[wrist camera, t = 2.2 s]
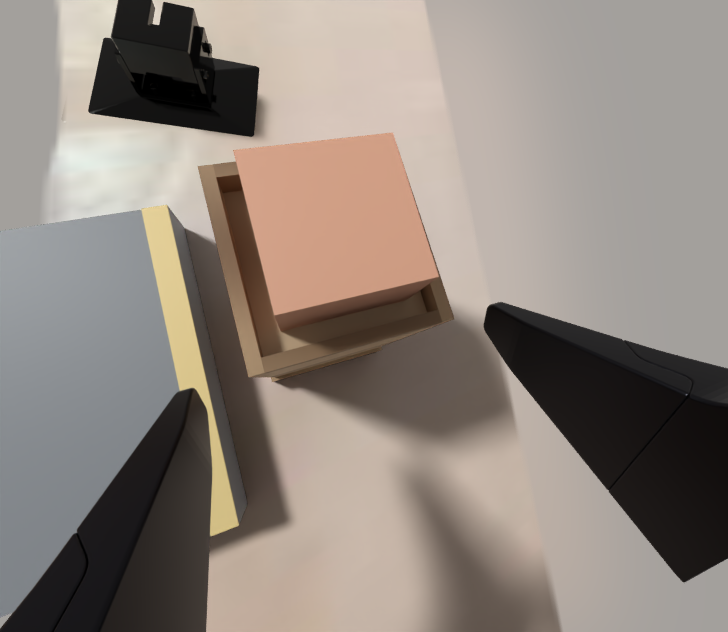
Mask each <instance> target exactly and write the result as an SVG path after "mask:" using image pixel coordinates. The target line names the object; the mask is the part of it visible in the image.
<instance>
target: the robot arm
mask: <svg viewBox="0 0 728 632" xmlns="http://www.w3.org/2000/svg"><path fill="white" fill-rule="evenodd" d="M484 330H485V332H486V334H487V335H488V337H489V338H490V340H491V341H492V343H493V344H494V346H495V347H496V349H497V350H498V352H499V353H500V355H501V357H502V358H503V360H504V361H505V363H506V364H507V365H508V367H509V368H510V370H511V371H512V372H513V374H514V375H515V376H516V377H517V378H518V380H519V381H520V382H521V383H522V384H523V386H524V387H525V388H526V390H527V391H528V392H529V393H530V395H531V396H532V397H533V398H534V400H535V401H536V402H537V403H538V404H539V405H540V407H541V408H542V409H543V411H544V412H545V413H546V414H547V416H548V417H549V418H550V419H551V421H552V422H553V423H554V424H555V425H556V427H557V428H558V429H559V430H560V432H561V433H562V434H563V435H564V437H565V438H566V439H567V440H568V442H569V443H570V444H571V445H572V447H574V449H575V450H576V451H577V453H578V454H579V455H580V456H581V458H582V459H583V460H584V461H585V463H586V464H587V465H588V466H589V468H590V469H591V470H592V471H593V473H594V474H595V475H596V476H597V477H598V479H599V480H600V481H601V482H602V484H603V485H604V486H605V487H606V489H608V490H609V493H610V494H611V495H612V496H613V498H614V499H615V500H616V501H617V502H618V504H619V505H620V506H621V507H622V509H623V510H624V511H625V512H626V514H627V515H628V516H629V517H630V518H631V520H632V521H633V522H634V524H635V525H636V526H637V527H638V529H639V530H640V531H641V532H642V533H643V535H644V536H645V537H646V538H647V540H648V541H649V542H650V543H651V545H652V546H653V547H654V548H655V550H657V552H658V553H659V555H660V556H661V557H662V558H663V559H664V561H665V562H666V563H667V564H668V566H669V567H670V568H671V569H672V570H673V572H674V573H675V574H676V575H677V576H678V577H679V578H680V580H681V581H682V582H686V581H688V580H690V579H692V578H694V577H695V576H697V575H699V574H701V573H702V572H704V571H706V570H708V569H710V568H711V567H713V566H715V565H717V564H719V563H720V562H722V561H724V560H726V559H728V368H724V367H720V366H716V365H712V364H708V363H704V362H700V361H697V360H693V359H689V358H685V357H681V356H678V355H674V354H670V353H666V352H663V351H659V350H656V349H652V348H649V347H646V346H642V345H639V344H636V343H632V342H629V341H626V340H624V341H623V340H622V339H619V338H616V337H613V336H610V335H606V334H603V333H600V332H596V331H593V330H590V329H587V328H584V327H580V326H577V325H574V324H571V323H567V322H564V321H561V320H558V319H555V318H551V317H548V316H545V315H541V314H538V313H535V312H532V311H528V310H525V309H522V308H519V307H516V306H512V305H509V304H506V303H503V302H498V303H495V304H491V305H489V306H488V308H487V311H486V316H485V321H484ZM211 496H212V456H211V444H210V433H209V421H208V413H207V409H206V406H205V404H204V403H203V401H202V399H201V397H200V395H199V394H198V392H197V390H196V389H195V388H188V389H185V390H181V391H178V392H177V393H176V394H175V395H174V396H173V397H172V399H171V400H170V402H169V403H168V404H167V406H166V407H165V408H164V410H163V411H162V413H161V414H160V415H159V417H158V418H157V419H156V421H155V422H154V424H153V425H152V426H151V428H150V429H149V430H148V432H147V433H146V435H145V436H144V437H143V439H142V440H141V441H140V443H139V444H138V446H137V447H136V448H135V450H134V451H133V452H132V454H131V455H130V457H129V458H128V459H127V461H126V462H125V463H124V465H123V466H122V468H121V469H120V470H119V472H118V473H117V475H116V476H115V477H114V479H113V480H112V481H111V483H110V484H109V486H108V487H107V488H106V490H105V491H104V492H103V494H102V495H101V497H100V498H99V499H98V501H97V502H96V503H95V505H94V506H93V508H92V509H91V510H90V512H89V513H88V514H87V516H86V517H85V519H84V520H83V521H82V523H81V524H80V525H79V527H78V528H77V533H74V534H73V535H72V536H71V538H70V539H69V540H68V542H67V543H66V544H65V546H64V547H63V549H62V550H61V551H60V553H59V554H58V555H57V557H56V558H55V559H54V561H53V562H52V563H51V565H50V566H49V567H48V569H47V570H46V571H45V573H44V574H43V575H42V577H41V578H40V579H39V581H38V582H37V583H36V585H35V586H34V587H33V588H32V590H31V591H30V592H29V593H28V595H27V596H26V597H25V598H24V600H23V601H22V602H21V603H20V605H19V606H18V607H17V608H16V610H15V611H14V612H13V613H12V615H11V616H10V617H9V618H8V620H7V621H6V622H5V623H4V625H3V626H2V627H1V628H0V632H206V619H207V594H208V570H209V545H210V521H211Z"/></svg>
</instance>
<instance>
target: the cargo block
mask: <svg viewBox="0 0 728 632" xmlns="http://www.w3.org/2000/svg"><path fill="white" fill-rule="evenodd" d="M233 151H234V155H235V159H236V163H237V167H238V171H239V175H240V179H241V183H242V188H243V192H244V196H245V200H246V204H247V208H248V212H249V216H250V220H251V224H252V228H253V232H254V236H255V240H256V244H257V248H258V252H259V256H260V260H261V264H262V268H263V272H264V276H265V280H266V284H267V288H268V292H269V296H270V300H271V304H272V308H273V312H274V316H275V319H276V321H277V324H278V326H279V329H280V331H284V330H288V329H292V328H296V327H300V326H304V325H308V324H312V323H316V322H320V321H324V320H328V319H333V318H337V317H341V316H345V315H349V314H353V313H357V312H361V311H365V310H369V309H373V308H377V307H381V306H385V305H389V304H393V303H397V302H401V301H405V300H407V299H409V298H410V297H411V296H413V295H414V294H416V293H417V292H418V291H420V290H421V289H423V288H424V287H425V286H427V285H428V284H430V283H431V282H432V281H434V280H435V279H437V278H438V277H439V275H438V272H437V269H436V266H435V262H434V259H433V256H432V253H431V250H430V247H429V244H428V241H427V238H426V234H425V231H424V228H423V225H422V222H421V219H420V216H419V213H418V210H417V206H416V203H415V200H414V197H413V194H412V191H411V188H410V185H409V182H408V179H407V175H406V172H405V169H404V166H403V163H402V160H401V157H400V154H399V151H398V147H397V144H396V141H395V138H394V135H393V133H385V134H376V135H367V136H357V137H348V138H339V139H330V140H321V141H312V142H303V143H294V144H285V145H276V146H267V147H258V148H249V149H240V150H233Z"/></svg>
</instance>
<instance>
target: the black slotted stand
mask: <svg viewBox="0 0 728 632" xmlns="http://www.w3.org/2000/svg"><path fill="white" fill-rule="evenodd" d="M154 11H155V7H154V4H153V2H152V0H118V3H117V8H116V13H115V18H114V23H113V28H112V33H111V38H112V39H111V38H104V39H103V44H102V48H101V53H100V58H99V62H98V67H97V72H96V77H95V81H94V86H93V91H92V95H91V100H90V105H89V109H88V111H89V113H91V114H98V115H105V116H111V117H118V118H125V119H132V120H139V121H146V122H153V123H160V124H167V125H173V126H180V127H187V128H194V129H201V130H208V131H215V132H222V133H229V134H236V135H242V136H249V137H252V136H254V129H255V116H256V104H257V91H258V79H259V68H258V67H256V66H251V65H246V64H241V63H236V62H231V61H225V60H220V59H215V58H212V55H211V54H212V46H211V44H209V43H208V40H207V36H206V33H205V29H204V27H199V25H198V22H197V18H196V15H195V11H194V9H193V8H190V7H185V6H181V5H176V4H171V3H167V2H163V6H162V12H161V18H160V24H159V25H154V24H152V23H153V17H154Z"/></svg>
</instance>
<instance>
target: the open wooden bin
mask: <svg viewBox="0 0 728 632" xmlns="http://www.w3.org/2000/svg"><path fill="white" fill-rule="evenodd" d="M398 151H399V150H398ZM399 154H400V153H399ZM400 157H401V156H400ZM401 160H402V159H401ZM402 163H403V162H402ZM403 166H404V165H403ZM404 169H405V168H404ZM198 170H199V174H200V178H201V182H202V186H203V191H204V195H205V199H206V203H207V207H208V211H209V216H210V220H211V224H212V228H213V232H214V236H215V240H216V245H217V249H218V253H219V257H220V261H221V265H222V269H223V274H224V278H225V282H226V286H227V290H228V294H229V298H230V303H231V307H232V311H233V315H234V319H235V323H236V327H237V332H238V336H239V340H240V344H241V348H242V352H243V357H244V361H245V365H246V369H247V373H248V377H271V379H272V382H274V381H278V380H281V379H285V378H288V377H292V376H295V375H298V374H302V373H305V372H309V371H312V370H316V369H319V368H322V367H326V366H329V365H333V364H336V363H340V362H343V361H346V360H350V359H353V358H357V357H360V356H363V355H367V354H370V353H374V352H377V351H380V350H382V349H381V346H383V345H386V344H389V343H391V342H394V341H397V340H399V339H402V338H405V337H407V336H410V335H413V334H415V333H418V332H421V331H424V330H426V329H429V328H432V327H434V326H437V325H440V324H442V323H445V322H448V321H450V320H453V319H454V316H453V313H452V310H451V307H450V304H449V301H448V298H447V295H446V292H445V289H444V286H443V283H442V280H441V277H440V274H439V271H438V268H437V265H436V262H435V259H434V256H433V253H432V250H431V247H430V244H429V241H428V238H427V235H426V238H427V241H428V244H429V247H430V250H431V253H432V256H433V259H434V262H435V266H436V269H437V272H438V275H439V277H438V278H437V279H435V280H434V281H432V282H431V283H430V284H428V285H427V286H425V287H424V288H423V289H421V290H420V291H418V292H417V293H416V294H414V295H413V296H411V297H410V298H409V299H407V300H405V301H401V302H397V303H393V304H389V305H385V306H381V307H377V308H373V309H369V310H365V311H361V312H357V313H353V314H349V315H345V316H341V317H337V318H333V319H328V320H324V321H320V322H316V323H312V324H308V325H304V326H300V327H296V328H292V329H288V330H284V331H280V329H279V326H278V324H277V321H276V319H275V316H274V312H273V308H272V304H271V300H270V296H269V292H268V288H267V284H266V280H265V276H264V272H263V268H262V264H261V260H260V256H259V252H258V248H257V244H256V240H255V236H254V232H253V228H252V224H251V220H250V216H249V212H248V208H247V204H246V200H245V196H244V192H243V188H242V183H241V179H240V175H239V171H238V167H237V163H236V162H229V163H221V164H213V165H205V166H198ZM405 172H406V171H405ZM406 175H407V174H406ZM407 179H408V177H407ZM408 182H409V180H408ZM409 185H410V183H409ZM410 188H411V186H410ZM411 191H412V189H411ZM412 194H413V192H412ZM413 197H414V195H413ZM414 200H415V198H414ZM415 203H416V201H415ZM416 206H417V205H416ZM417 210H418V208H417ZM418 213H419V211H418ZM419 216H420V214H419ZM420 219H421V217H420ZM421 222H422V220H421ZM422 225H423V223H422ZM423 228H424V226H423ZM424 231H425V229H424ZM425 234H426V232H425Z"/></svg>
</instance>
